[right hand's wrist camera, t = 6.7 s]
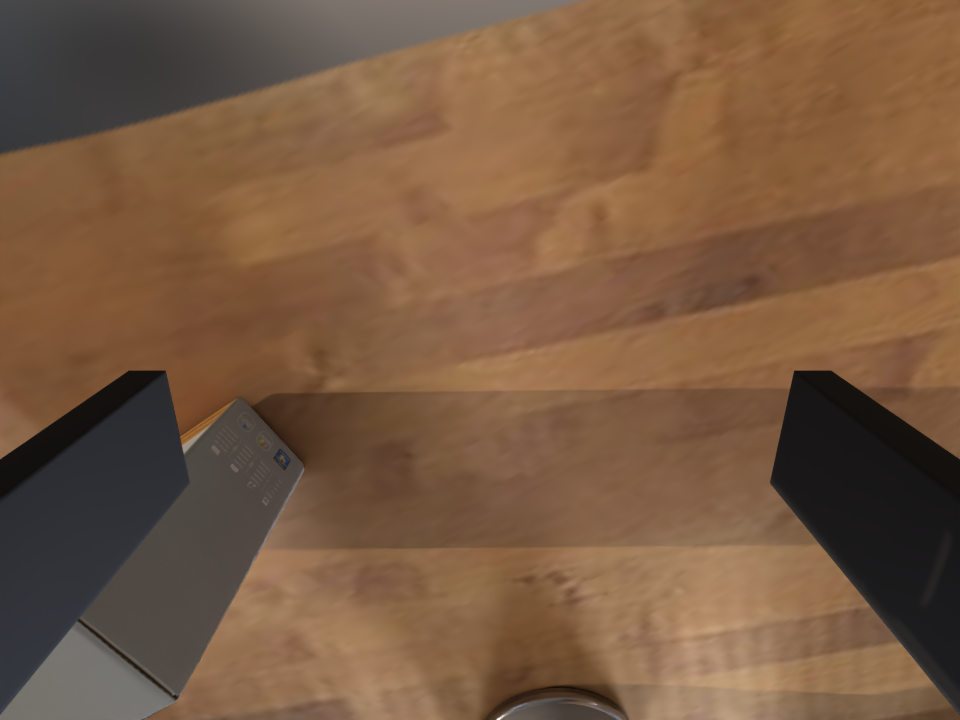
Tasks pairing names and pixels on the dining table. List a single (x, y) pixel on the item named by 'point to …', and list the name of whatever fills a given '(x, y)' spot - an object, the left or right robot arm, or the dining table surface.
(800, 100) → the dining table surface
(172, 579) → the hard drive box
